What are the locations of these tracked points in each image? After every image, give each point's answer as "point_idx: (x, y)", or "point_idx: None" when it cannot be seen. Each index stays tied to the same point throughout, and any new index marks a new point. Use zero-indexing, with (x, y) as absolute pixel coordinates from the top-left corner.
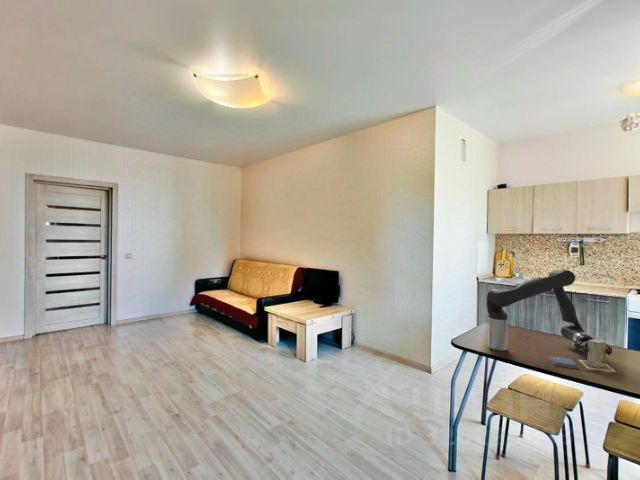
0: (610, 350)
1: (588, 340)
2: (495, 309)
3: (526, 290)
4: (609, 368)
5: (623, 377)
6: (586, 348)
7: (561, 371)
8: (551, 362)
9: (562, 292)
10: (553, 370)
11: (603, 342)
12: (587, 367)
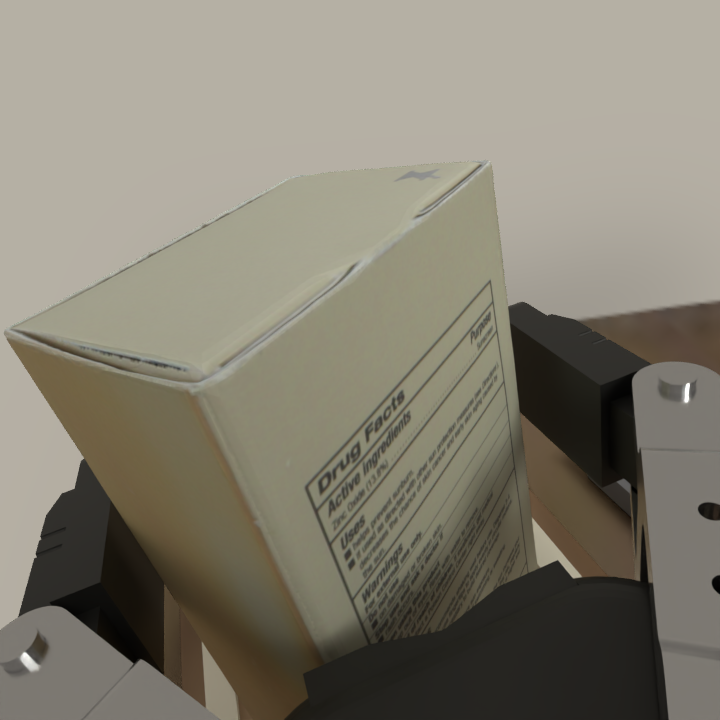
0: (39, 547)
1: (479, 171)
2: None
3: None
4: (241, 712)
5: (164, 583)
6: (514, 306)
7: (660, 331)
8: None
9: None
10: (713, 309)
11: (128, 265)
12: None
